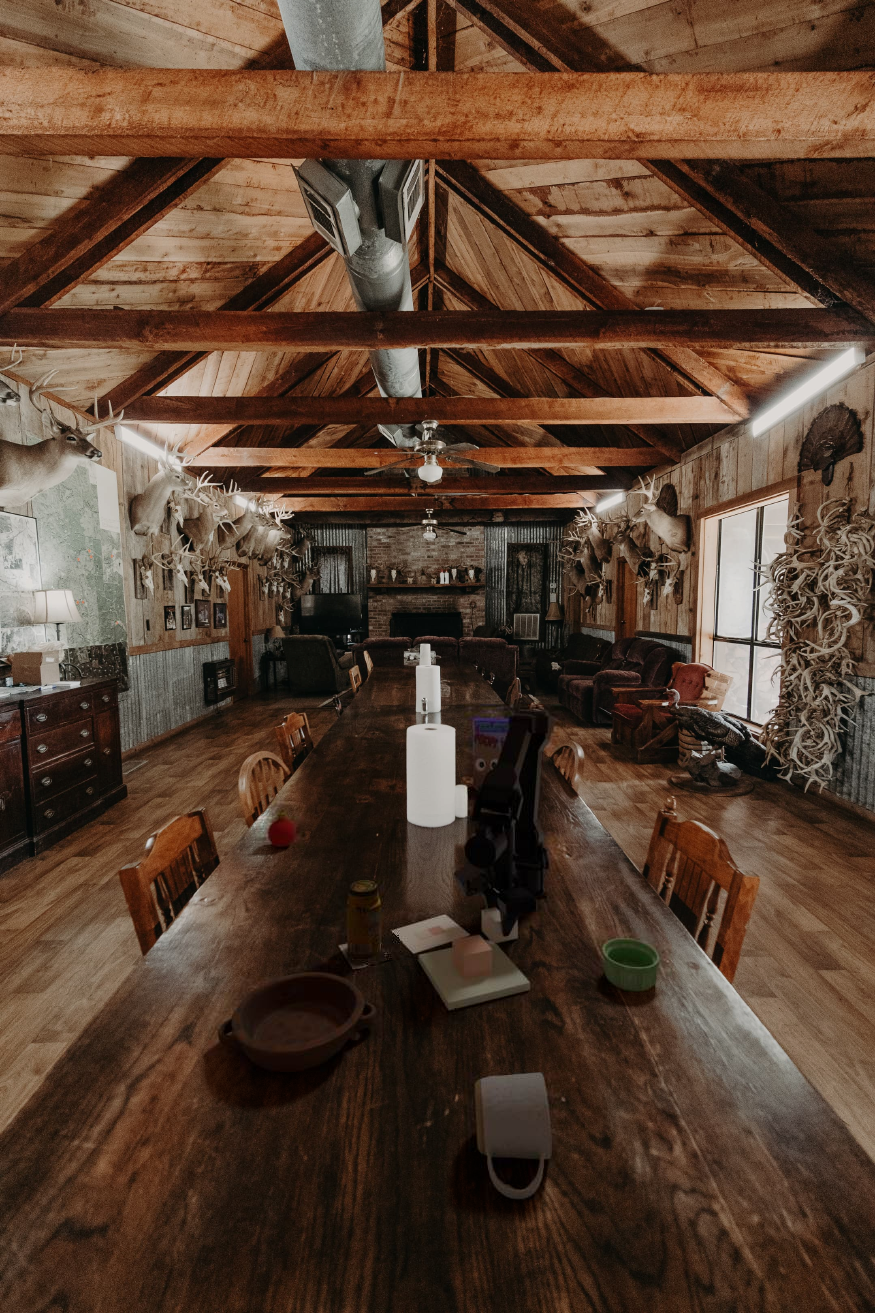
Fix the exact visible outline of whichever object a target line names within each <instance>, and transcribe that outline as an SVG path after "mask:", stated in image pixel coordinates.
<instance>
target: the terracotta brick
mask: <svg viewBox="0 0 875 1313" xmlns="http://www.w3.org/2000/svg"><path fill="white" fill-rule="evenodd" d="M485 940H486V939H484V938H483V936H481V934H476V935H475V934H474V935H470V936H467V937H464V938H461V939H457V940H452V947H451V948H452V955H453V965H454V966H455V967H456V969H457V970H458V971H459V973H460V974H461V976H462V977H463V978H464V980H466V979H470V978H474V977H478V976H482V975H486V974H490V973H492V948H491V947H490V946H489V945H488V944H487V943H486V942H485Z"/></svg>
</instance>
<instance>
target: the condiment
mask: <svg viewBox="0 0 875 1313" xmlns="http://www.w3.org/2000/svg"><path fill="white" fill-rule="evenodd" d="M381 902H382V901H381V899H380V896H379V885H378V883H377V882H375V881H372V880H366V879H365V880H358V881H355V882H352V884H351V885H349V887H348V900H347V902H346V938H347V939H346V940H347V942H346V943H344V944H339V945H338V948H339V949H340V951H341V952H342V954H343V956H344V957H345V959H346V960H347V962H348V965H350V967H351V969H352V970H356V969H357V970H358V969H364V968H367V966H368V965H369V964H368V965H366V964H362V963H364V962H363V961H364V960H362V961H359V960H356V961H358V962H360V963H358V962H356V961H354V960H352V958H353V959H368V958H371V957H373V956H375V955H377V954H378V953H379V952H380V950H381V944H382V905H381ZM385 954H387V953H385ZM385 956H386V955H385ZM350 957H352V958H350ZM366 961H367V960H366ZM361 965H363V966H361ZM368 967H369V966H368Z"/></svg>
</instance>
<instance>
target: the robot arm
mask: <svg viewBox="0 0 875 1313" xmlns="http://www.w3.org/2000/svg"><path fill="white" fill-rule="evenodd" d="M508 719H509V729H508V732H507V735H506V737H505V740H504V743H503V746H502V749H501V752H500V755H499V758H498V761H497V764H496V766H495V767H494V768H493V769H492V770H490V771H489V772H487V773H486V775H485V777H484V779H483V781H482V783H481V785H480V786H479V787H478V790H476V791H477V792H476V794H475V795H476V796H475V801H474V805H473V809H472V813H471V819H470V821H471V822H472V823H473V822H474V823H478V826H477V827H475V830H474V832H475V833H473V835H471V836H470V837H469V839H467V841H466V843H465V846H464V855H465V857H466V859H467V861H468V862H467V863H466V865H464V866H462V867H461V868H459V869H457V870H455V871H454V873H453V876H454V879H455V882H456V884H457V886H458V887H457V888H458V889H459V891H460V892H462V894H463V895H464V896H465V897H467V898H470V897H473V896H474V895H479V894H480V893H481V894H482V897H483V900H484V901H483V902H484V904H485V909H489V908H494V907H496V908H497V909H498V910H499V911H500V919H501V927H502V933H503V936H504V937H506V936H509V935H510V933H511V931H512V929H513V927H514V925H515V923H516V921H517V919H518V920H519V917H521V916H520V915H524V914H529V913H534V912H537V911H538V910H539V909H538V907H539V902H538V899H539V898H544V897H548V893H547V892H546V891H545V890H544V872H545V870H549V869H550V867H551V865H550V863H551V858H550V852H549V850H548V847H547V844H546V842H545V833H544V830H543V829H542V827H541V825H540V823H539V821H538V817H539V816H538V815H539V814H538V812H539V802H540V799H539V798H540V787H541V786H540V785H541V772H542V761H543V760H542V758H543V751H544V750H545V748H547V745H549V743H550V741H551V737H552V733H553V732H554V729H555V718H554V716H552V715H550V712H549V710H542V709H541V710H539V709H523V708H521V709H519V711H518V713H510V715H509V718H508ZM518 778H519V780H518ZM482 810H483V811H484V812H483V811H482ZM490 812H491V813H490Z"/></svg>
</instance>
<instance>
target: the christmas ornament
mask: <svg viewBox="0 0 875 1313" xmlns="http://www.w3.org/2000/svg"><path fill="white" fill-rule="evenodd" d="M296 836H297V828H296V826H295V823H293V821H291V820H290V819H288V818H287V816H286V812H284V809H283V807H282V808H280V810H279V812H278V813H277V819H276V820H275V821H273V822H272V823H271V824H270V825H269V828H268V830H267V837H268V840H269V842H270V844H272V845H273V846H275V847H278V848H285V847H287V846H290V844H292V843H293V842H294V840H295V838H296Z"/></svg>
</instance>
